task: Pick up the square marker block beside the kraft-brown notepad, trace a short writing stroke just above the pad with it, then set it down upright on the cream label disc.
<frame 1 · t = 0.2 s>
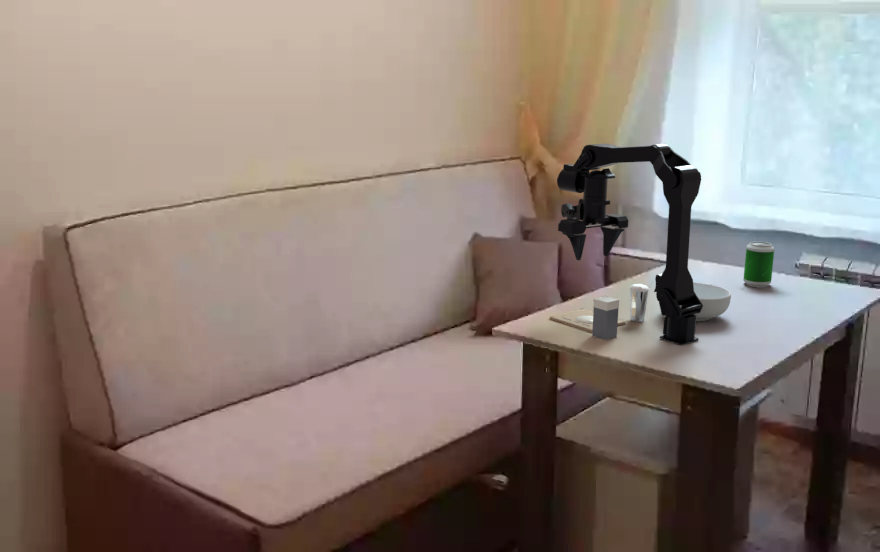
hand: (592, 258, 238), 14 cm above the table, fingers open, 9 cm apart
soda can: (756, 285, 274), on the table
milkshake: (638, 321, 237), on the table
cereal bowl: (694, 317, 241), on the table
marker: (604, 336, 223), on the table
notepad: (587, 321, 235), on the table
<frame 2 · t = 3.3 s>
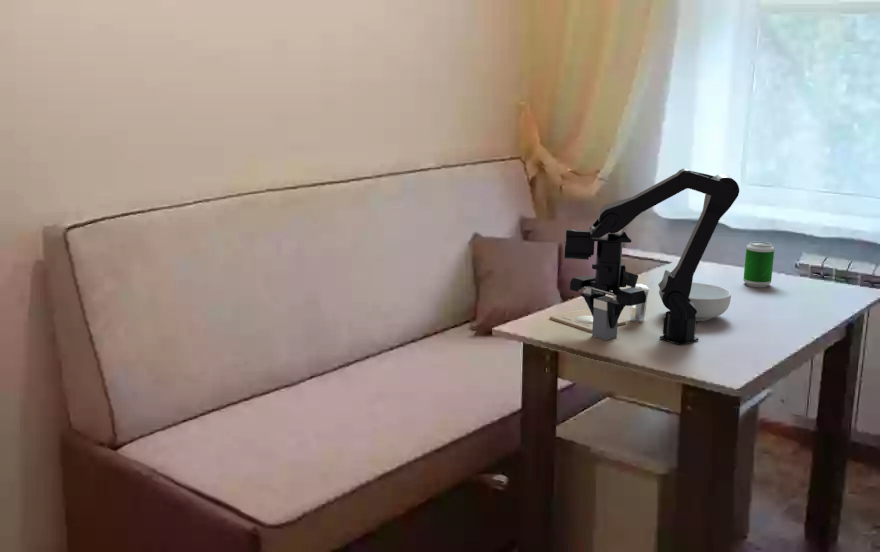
hand: (605, 326, 223), 3 cm above the table, fingers closed on marker, 4 cm apart
marker: (604, 336, 223), on the table, touching gripper
everything else where it was.
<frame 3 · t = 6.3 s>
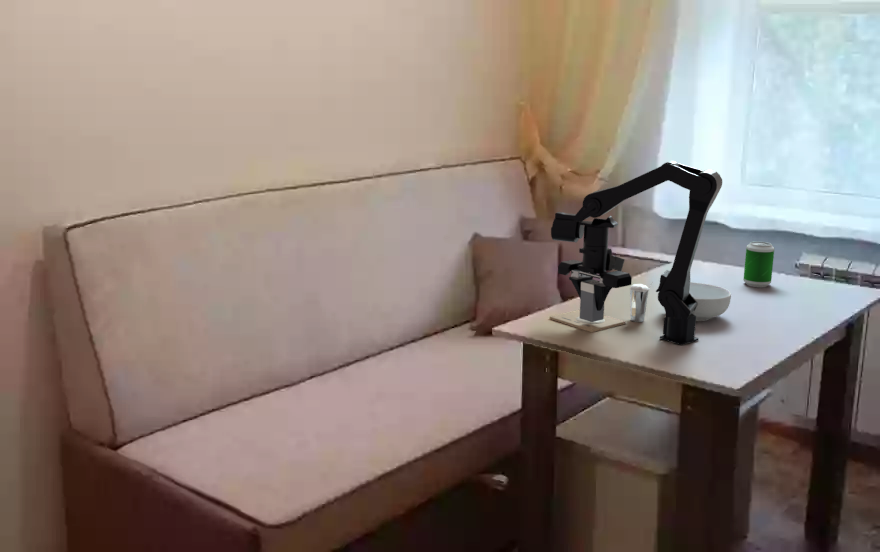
hand: (592, 308, 229), 5 cm above the table, fingers closed on marker, 4 cm apart
marker: (591, 318, 230), point 2 cm above the table, touching gripper
everything else where it was.
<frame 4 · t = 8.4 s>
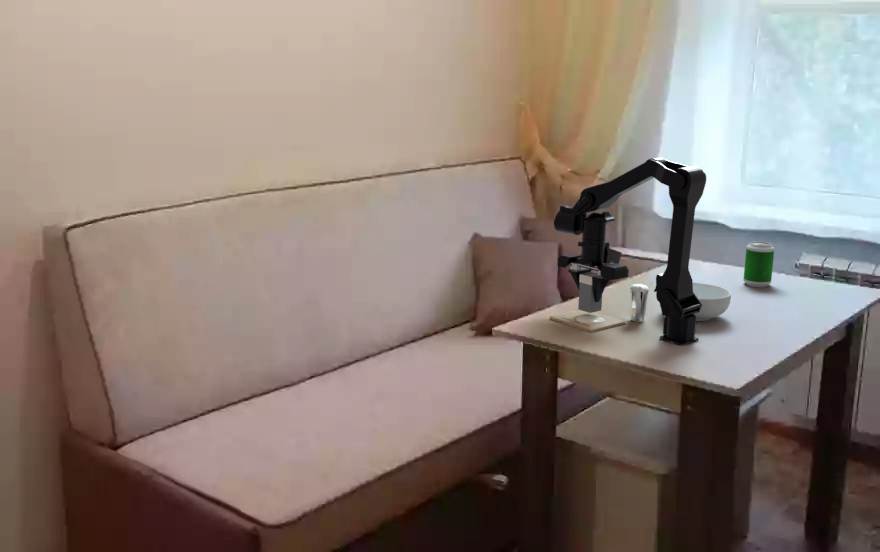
hand: (590, 300, 237), 5 cm above the table, fingers closed on marker, 4 cm apart
marker: (589, 309, 238), point 2 cm above the table, touching gripper
everything else where it was.
when the fingers open (4 cm above the table, at t = 9.7 s): marker stays where it is, resting on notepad.
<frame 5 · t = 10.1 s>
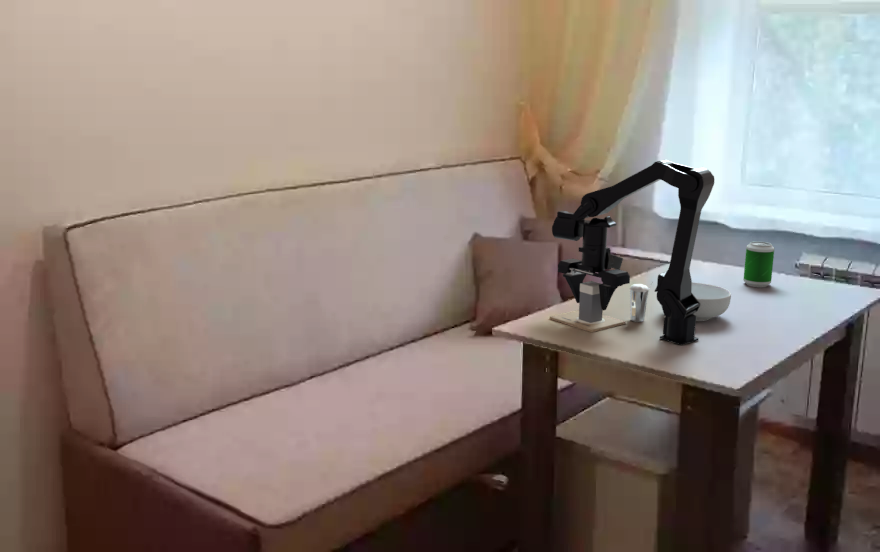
hand: (591, 306, 234), 4 cm above the table, fingers open, 8 cm apart
marker: (590, 319, 234), point 1 cm above the table, touching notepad
everything else where it was.
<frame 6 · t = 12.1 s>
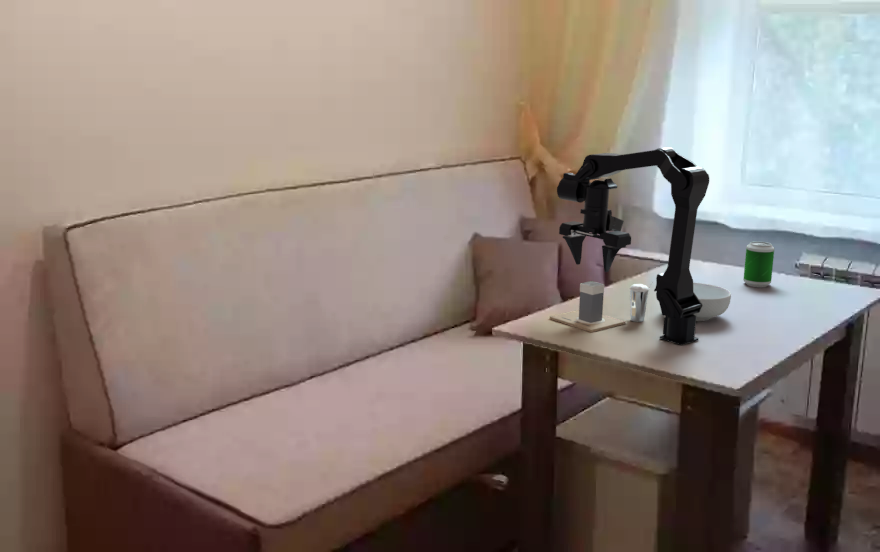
hand: (592, 268, 237), 12 cm above the table, fingers open, 9 cm apart
nothing on the table moved.
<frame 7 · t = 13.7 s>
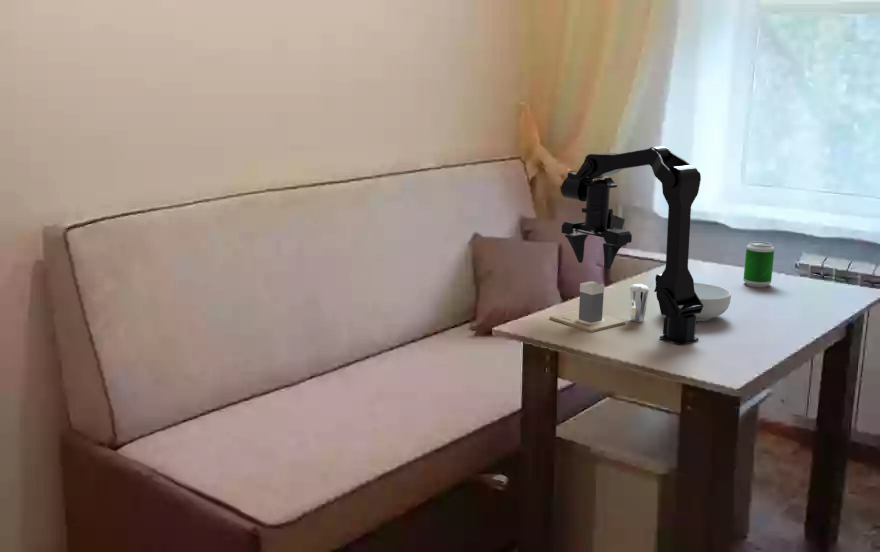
hand: (594, 266, 240), 12 cm above the table, fingers open, 9 cm apart
nothing on the table moved.
at the end: marker inside the target area on the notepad (0.1 cm from its centre), point 0.6 cm above the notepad's base; marker tilted 0°; the gripper is holding nothing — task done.
